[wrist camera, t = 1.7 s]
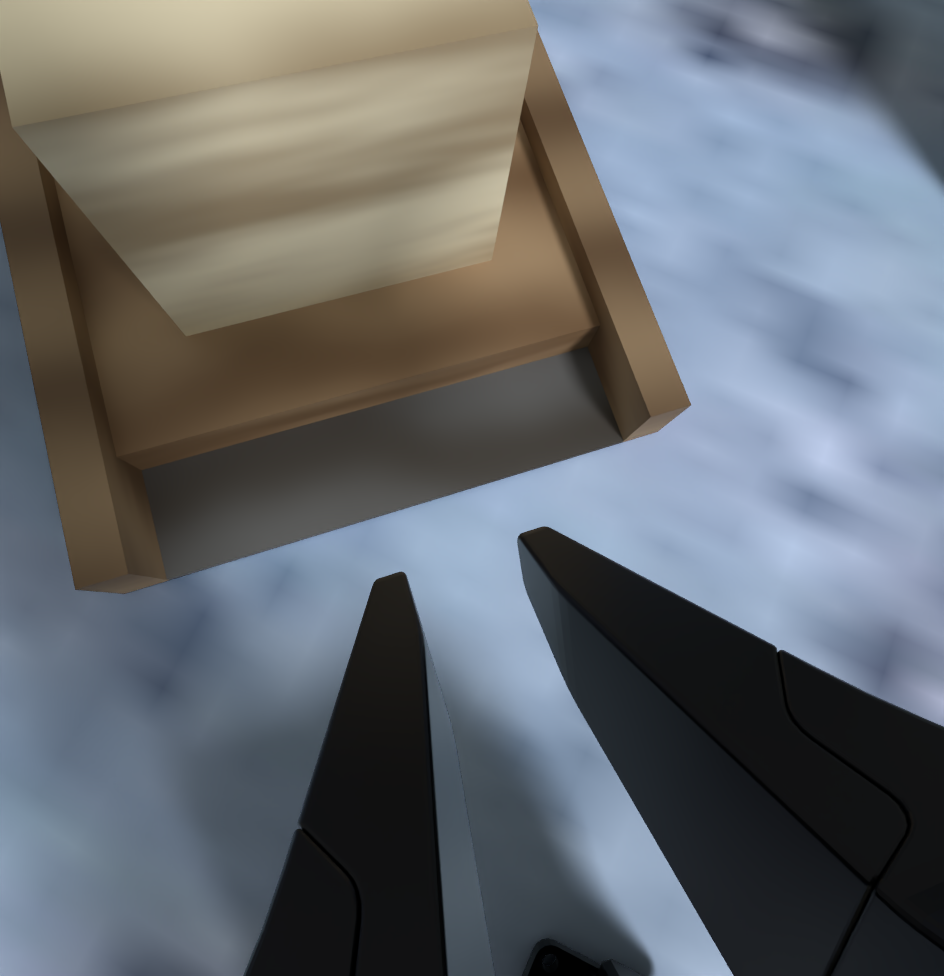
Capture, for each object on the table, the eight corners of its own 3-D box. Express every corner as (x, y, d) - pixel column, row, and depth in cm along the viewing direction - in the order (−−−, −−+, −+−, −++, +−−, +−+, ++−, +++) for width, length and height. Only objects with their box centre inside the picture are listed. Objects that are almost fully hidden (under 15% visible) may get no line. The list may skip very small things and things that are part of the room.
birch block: (492, 260, 22) (538, 25, 13) (186, 336, 21) (12, 127, 12) (404, 19, 24) (394, -324, 15) (118, 72, 23) (-75, -277, 14)
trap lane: (657, 431, 23) (704, 394, 20) (124, 593, 21) (55, 588, 17) (386, -252, 30) (381, -382, 26) (-49, -199, 27) (-128, -337, 23)
